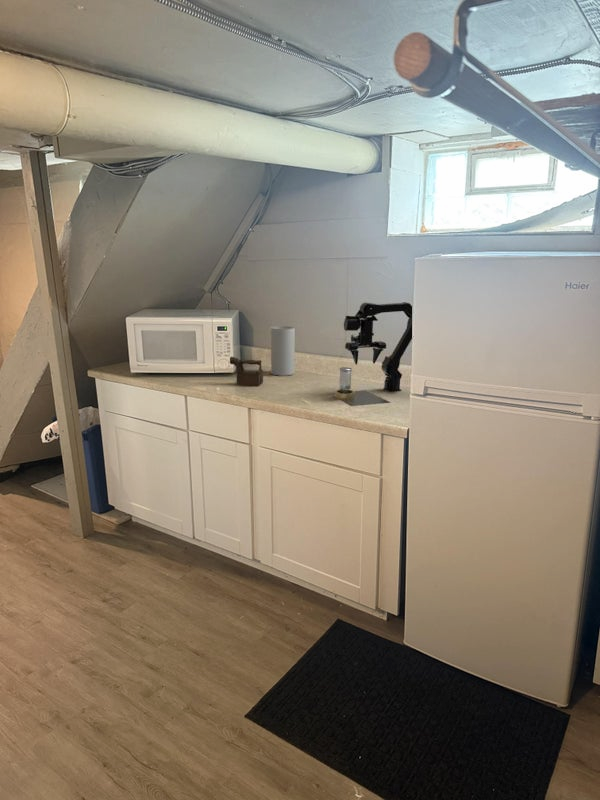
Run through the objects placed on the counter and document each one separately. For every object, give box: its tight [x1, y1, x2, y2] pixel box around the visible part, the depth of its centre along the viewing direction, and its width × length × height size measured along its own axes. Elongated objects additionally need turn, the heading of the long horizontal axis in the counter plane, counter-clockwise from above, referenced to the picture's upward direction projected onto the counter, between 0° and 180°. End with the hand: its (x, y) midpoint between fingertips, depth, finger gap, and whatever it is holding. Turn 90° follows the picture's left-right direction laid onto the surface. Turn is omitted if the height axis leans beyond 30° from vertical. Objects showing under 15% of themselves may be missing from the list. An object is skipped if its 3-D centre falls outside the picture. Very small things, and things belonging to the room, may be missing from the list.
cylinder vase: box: [270, 325, 296, 377], centre depth 296 cm, size 12×12×25 cm
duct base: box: [328, 389, 392, 407], centre depth 245 cm, size 19×24×3 cm
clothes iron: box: [229, 356, 264, 387], centre depth 273 cm, size 8×16×13 cm, turn 77°
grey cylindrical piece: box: [338, 366, 353, 394], centre depth 245 cm, size 5×5×13 cm
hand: (365, 363), depth 258 cm, fingers open, 9 cm apart
